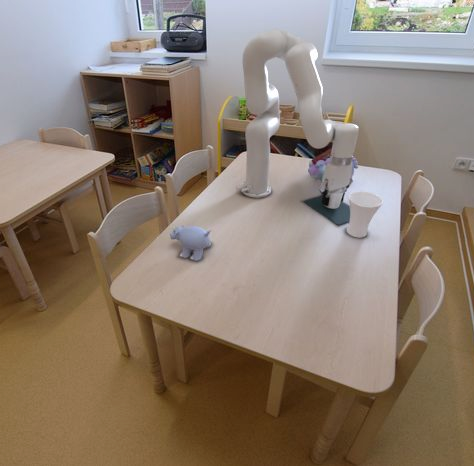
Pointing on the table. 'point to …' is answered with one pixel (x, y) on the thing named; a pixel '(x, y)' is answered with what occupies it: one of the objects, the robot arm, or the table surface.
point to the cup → (362, 212)
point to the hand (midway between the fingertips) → (332, 202)
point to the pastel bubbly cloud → (324, 165)
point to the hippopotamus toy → (192, 240)
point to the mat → (331, 210)
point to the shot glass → (335, 198)
